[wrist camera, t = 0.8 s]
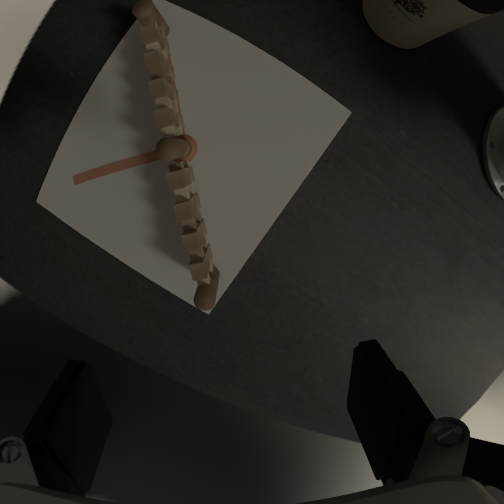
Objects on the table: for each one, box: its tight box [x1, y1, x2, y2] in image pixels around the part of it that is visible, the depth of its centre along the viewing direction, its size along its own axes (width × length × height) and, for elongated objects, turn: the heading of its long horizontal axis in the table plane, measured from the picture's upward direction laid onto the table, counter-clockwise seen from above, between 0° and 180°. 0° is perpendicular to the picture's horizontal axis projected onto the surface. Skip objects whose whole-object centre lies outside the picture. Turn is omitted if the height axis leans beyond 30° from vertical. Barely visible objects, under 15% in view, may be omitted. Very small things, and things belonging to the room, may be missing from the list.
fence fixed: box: [132, 0, 192, 161], centre depth 24 cm, size 14×2×6 cm, turn 11°
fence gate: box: [166, 160, 220, 311], centre depth 27 cm, size 12×2×6 cm, turn 11°
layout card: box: [36, 0, 352, 314], centre depth 29 cm, size 25×23×1 cm
